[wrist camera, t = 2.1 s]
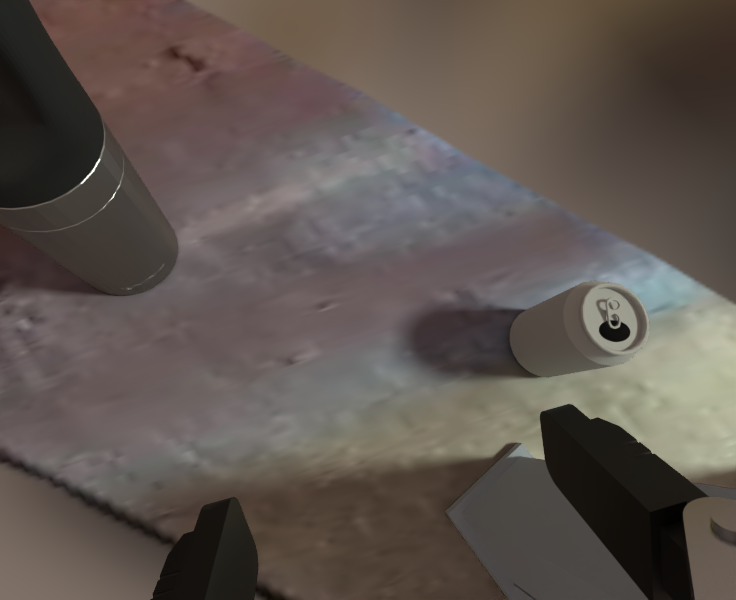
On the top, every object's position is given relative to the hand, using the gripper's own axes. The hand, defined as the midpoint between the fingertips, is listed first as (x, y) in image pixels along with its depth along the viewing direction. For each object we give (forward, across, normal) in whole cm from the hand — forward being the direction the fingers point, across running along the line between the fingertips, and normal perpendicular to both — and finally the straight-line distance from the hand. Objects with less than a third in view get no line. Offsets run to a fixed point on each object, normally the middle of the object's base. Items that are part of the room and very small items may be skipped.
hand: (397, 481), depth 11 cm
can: (+32, -19, +14) cm, 39 cm away
